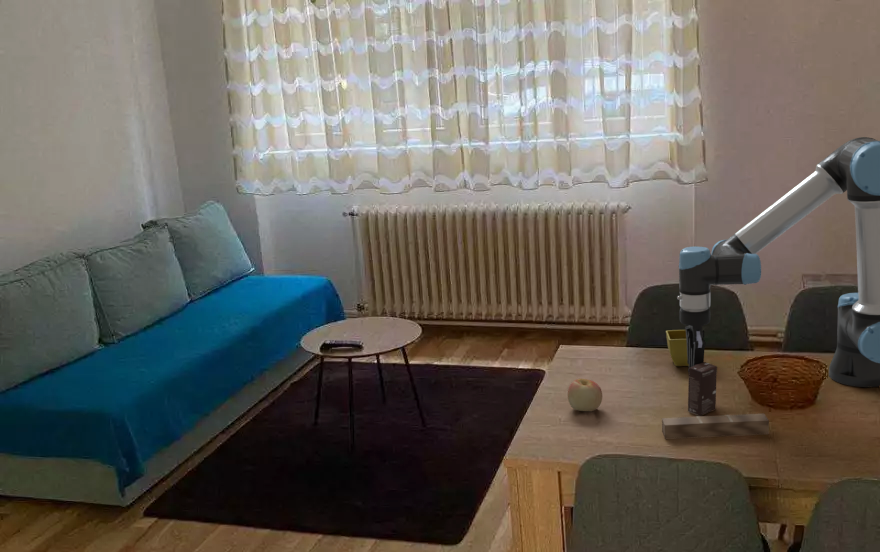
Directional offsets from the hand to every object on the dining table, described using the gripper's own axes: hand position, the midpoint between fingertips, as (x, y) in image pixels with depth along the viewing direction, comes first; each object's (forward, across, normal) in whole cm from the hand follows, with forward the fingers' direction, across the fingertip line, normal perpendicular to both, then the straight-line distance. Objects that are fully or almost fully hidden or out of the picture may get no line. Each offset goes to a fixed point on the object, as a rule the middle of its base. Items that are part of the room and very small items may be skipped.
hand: (695, 393), depth 226 cm
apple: (+2, +4, -29) cm, 29 cm away
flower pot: (+2, -26, +2) cm, 26 cm away
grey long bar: (+1, +21, 0) cm, 21 cm away
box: (+2, +8, 0) cm, 8 cm away
